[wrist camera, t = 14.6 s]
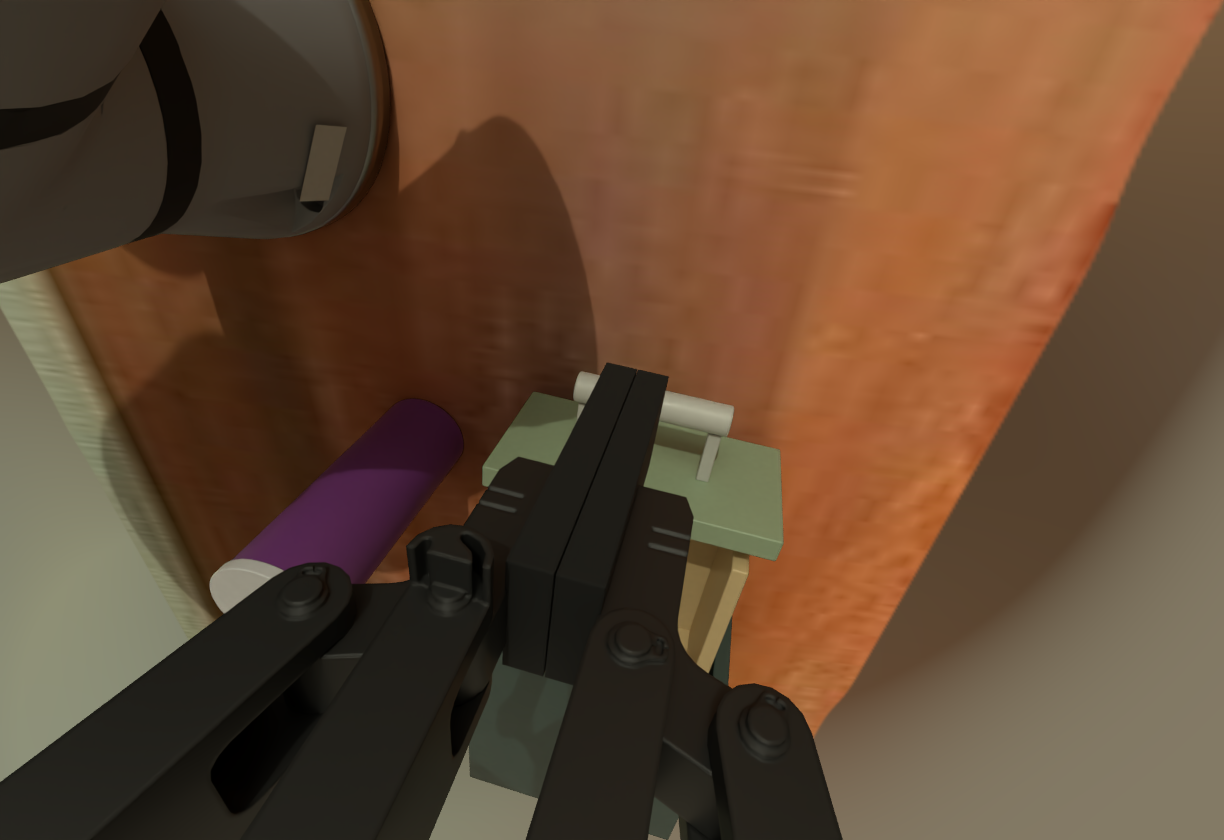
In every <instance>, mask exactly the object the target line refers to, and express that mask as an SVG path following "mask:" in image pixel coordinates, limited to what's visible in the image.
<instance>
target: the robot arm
mask: <svg viewBox="0 0 1224 840" xmlns="http://www.w3.org/2000/svg"><path fill="white" fill-rule="evenodd" d="M389 125H390V87H389V79H388V71H387V64H386V59H385V54H384V49H383V44H382V41H381V37H380V33H379V30H378V26H377V23H376V20H375V17H374V14H373V11H372V8H371V5H370V3H369V0H0V283H4V282H7V281H10V280H13V279H16V278H20V277H23V276H26V275H29V274H32V273H36V272H39V271H42V270H45V269H48V268H52V267H55V266H58V265H61V264H65V263H68V262H71V261H74V260H77V259H81V258H84V257H87V256H90V255H93V254H97V253H100V252H103V251H106V250H110V249H113V248H116V247H119V246H121V245H124V244H128V243H131V242H134V241H138V240H141V239H144V238H148V237H151V236H155V235H158V234H180V235H198V236H216V237H234V238H252V239H274V238H282V237H291V236H296V235H301V234H304V233H307V232H310V231H313V230H315V229H318V228H320V227H323V226H326V225H328V224H330V223H332V222H334V221H336V220H338V219H340V218H342V217H343V216H344V215H346V214H347V213H349V212H350V211H351V210H352V209H353V208H354V207H355V206H357V205H358V204H359V202H360V201H361V200H362V199H363V198H364V196H365V195H366V194H367V192H368V191H369V189H370V187H371V186H372V184H373V183H374V180H375V178H376V176H377V174H378V172H379V169H380V167H381V164H382V161H383V158H384V154H385V149H386V145H387V141H388V133H389ZM636 372H637V374H636ZM668 378H669V377H668V376H664V375H660V374H655V373H651V372H646V371H642V370H638V371H637V369H633V368H629V367H625V366H620V365H616V364H611V363H606V365H605V367H604V369H603V371H602V373H601V375H600V377H599V379H598V381H597V383H596V385H595V387H594V389H593V391H592V393H591V395H590V396H589V398H588V400H587V402H586V404H585V406H584V408H583V410H582V412H581V414H580V416H579V418H578V420H577V422H576V424H575V426H574V428H573V430H572V432H571V434H570V436H569V438H568V440H567V442H566V444H565V445H564V447H563V449H562V451H561V453H560V455H559V457H558V459H557V461H556V463H555V465H550V464H546V463H542V462H538V461H534V460H530V459H527V458H523V457H519V456H518V457H517V458H515V459H514V460H512V461H511V462H509V463H508V464H506V465H505V466H503V467H502V468H500V469H499V471H498V472H497V474H496V475H495V477H494V478H493V480H492V482H491V483H490V485H489V486H488V490H486V491H485V493H484V494H483V496H482V497H481V499H480V501H479V504H477V505H476V507H475V508H474V510H473V511H472V513H471V515H470V516H469V518H468V519H467V521H466V522H465V524H464V526H461V525H452V524H450V525H444V526H438V527H433V528H431V529H429V530H427V531H425V532H423V533H420V534H418V535H417V536H416V537H415V538H414V539H413V540H412V541H411V542H410V543H409V544H408V545H407V546H406V548H407V557H408V566H409V575H410V580H407V581H404V582H397V583H379V584H351V580H350V576H349V575H348V574H347V573H346V572H345V571H344V570H343V569H342V568H341V567H339V566H336V565H333V564H329V563H326V562H308V563H304V564H301V565H297V566H294V567H290V568H288V569H286V570H285V571H283V572H281V573H279V574H278V575H276V576H274V577H272V578H271V579H270V580H268V581H267V582H266V583H264V584H263V585H262V586H260V587H259V588H258V589H256V590H255V591H254V592H252V593H251V594H250V595H248V596H247V597H246V598H244V599H243V600H242V601H240V602H239V603H238V604H236V605H235V606H234V607H232V608H231V609H230V610H228V611H227V612H226V613H224V614H223V615H222V616H221V617H219V618H218V619H217V620H215V621H214V622H213V623H211V624H210V625H209V626H207V627H206V628H205V629H203V630H202V631H201V632H199V633H198V634H197V635H195V636H194V637H193V638H191V639H190V640H189V641H187V642H186V643H185V644H183V645H182V646H181V647H179V648H178V649H177V650H175V651H174V652H173V653H171V654H170V655H169V656H167V657H166V658H165V659H163V660H162V661H161V662H159V663H158V664H157V665H155V666H154V667H153V668H151V669H150V670H149V671H147V672H146V673H145V674H143V675H142V676H141V677H140V678H138V679H137V680H135V681H134V682H133V683H132V684H130V685H129V686H127V687H126V688H125V689H123V690H122V691H121V692H120V693H118V694H117V695H116V696H114V697H113V698H112V699H111V700H109V701H108V702H106V703H105V704H104V705H102V706H101V707H100V708H98V709H97V710H96V711H94V712H93V713H92V714H90V715H89V716H88V717H86V718H85V719H84V720H82V721H81V722H80V723H78V724H77V725H76V726H74V727H73V728H72V729H70V730H69V731H68V732H66V733H65V734H64V735H62V736H61V737H60V738H59V739H57V740H56V741H54V742H53V743H52V744H50V745H49V746H48V747H46V748H45V749H44V750H42V751H41V752H40V753H39V754H37V755H36V756H34V757H33V758H32V759H30V760H29V761H28V762H27V763H25V764H24V765H23V766H21V767H20V768H19V769H17V770H16V771H15V772H13V773H12V774H11V775H9V776H8V777H7V778H5V779H4V780H3V781H1V782H0V840H429V838H430V836H431V833H432V831H433V829H434V826H435V824H436V821H437V819H438V817H439V814H440V812H441V810H442V807H443V805H444V802H445V800H446V798H447V795H448V793H449V791H450V788H451V786H452V784H453V781H454V779H455V776H456V774H457V772H458V769H459V767H460V765H461V762H462V760H463V758H464V755H465V753H466V750H467V748H468V746H469V743H470V741H471V739H472V736H473V734H474V732H475V729H476V727H477V724H478V722H479V720H480V717H481V715H482V713H483V710H484V708H485V705H486V703H487V701H488V698H489V695H490V691H491V686H492V673H493V671H494V669H495V666H496V664H497V662H498V660H499V657H500V655H501V653H502V650H503V657H502V665H506V666H509V667H512V668H516V669H519V670H522V671H526V672H529V673H533V674H536V675H539V676H543V675H544V673H545V677H546V678H549V679H553V680H556V681H560V682H563V683H566V684H570V685H573V688H572V692H571V695H570V698H569V701H568V704H567V708H566V711H565V714H564V717H563V721H562V724H561V727H560V730H559V734H558V737H557V740H556V743H555V746H554V750H553V753H552V756H551V759H550V763H549V766H548V769H547V772H546V776H545V779H544V782H543V785H542V788H541V792H540V795H539V798H538V802H537V805H536V808H535V811H534V814H533V818H532V821H531V824H530V827H529V830H528V834H527V837H526V840H648V833H649V827H650V820H651V814H652V807H653V801H654V797H655V798H656V799H658V800H659V801H660V802H662V803H663V804H664V805H666V806H667V807H668V808H670V809H671V810H672V811H673V812H675V813H676V814H677V815H678V817H679V827H680V839H681V840H842V836H841V833H840V829H839V825H838V822H837V818H836V815H835V812H834V808H833V805H832V801H831V798H830V794H829V791H828V787H827V784H826V781H825V777H824V774H823V770H822V767H821V763H820V760H819V756H818V753H817V750H816V746H815V743H814V739H813V736H812V733H811V730H810V728H809V726H808V724H807V722H806V720H805V718H804V716H803V714H802V713H801V712H800V710H799V709H798V708H797V707H796V706H795V705H794V704H793V703H792V701H791V700H790V699H789V698H787V697H786V696H784V695H782V694H781V693H779V692H778V691H776V690H774V689H773V688H771V687H767V686H763V685H759V684H755V683H753V684H745V685H738V686H736V687H735V688H733V689H732V688H730V687H729V686H727V685H726V684H724V683H723V682H721V681H719V680H718V679H716V678H715V677H713V676H712V675H710V674H709V673H707V672H706V671H705V670H703V669H702V668H701V667H699V666H698V665H697V664H696V663H695V662H694V661H693V660H692V658H691V657H690V656H689V655H688V654H687V652H686V650H685V648H684V646H683V645H682V643H681V640H680V636H679V632H678V616H679V610H680V603H681V597H682V590H683V584H684V578H685V571H686V565H687V557H688V552H689V545H690V538H691V532H692V526H693V519H694V516H693V513H692V511H691V508H690V505H689V503H688V500H687V497H684V496H680V495H676V494H672V493H668V492H664V491H660V490H656V489H652V488H648V487H644V483H645V479H646V476H647V472H648V469H649V465H650V461H651V456H652V452H653V447H654V442H655V438H656V433H657V429H658V424H659V419H660V415H661V410H662V405H663V401H664V396H665V392H666V387H667V382H668Z"/></svg>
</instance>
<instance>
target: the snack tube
mask: <svg viewBox="0 0 1224 840" xmlns="http://www.w3.org/2000/svg"><path fill="white" fill-rule="evenodd" d="M462 451H463V437H462V434H461V431H460V429H459V427H458V425H457V424H456V422H455V421H454V420H453V419H452V417H451V416H450V415H449V414H448V413H446V412H445V411H444V410H443V409H441V408H440V407H438V406H436V405H435V404H432V403H430V402H428V401H424V400H420V399H406V400H402V401H399V402H398V403H396V404H395V405H394V406H392V407H391V408H390V409H389V410H388V411H387V412H386V413H385V414H384V415H383V416H382V417H381V418H380V419H379V420H378V421H377V422H376V423H375V424H374V425H373V426H372V427H370V428H369V429H368V430H367V431H366V432H365V433H364V434H363V435H362V436H361V437H360V438H359V439H358V440H357V441H356V442H355V443H354V444H353V445H352V446H351V447H350V448H349V449H347V450H346V451H345V452H344V453H343V454H342V455H341V456H340V457H339V458H338V459H337V460H336V461H335V462H334V463H333V464H332V465H331V466H330V467H329V468H328V469H327V470H326V471H324V472H323V473H322V474H321V475H320V476H319V477H318V478H317V479H316V480H315V481H314V482H313V483H312V484H311V485H310V486H309V487H308V488H307V489H306V490H305V491H304V492H302V493H301V494H300V495H299V496H298V497H297V498H296V499H295V500H294V501H293V502H292V503H291V504H290V505H289V506H288V507H287V508H286V509H285V510H284V511H283V512H282V513H281V514H279V515H278V516H277V517H276V518H275V519H274V520H273V521H272V522H271V523H270V524H269V525H268V526H267V527H266V528H265V529H264V530H263V531H262V532H261V533H260V534H259V535H258V536H256V537H255V538H254V539H253V540H252V541H251V542H250V543H249V544H248V545H247V546H246V547H245V548H244V549H243V550H242V551H241V552H240V553H239V554H238V555H237V556H236V557H235V558H233V559H232V560H231V561H229V562H227V563H225V564H224V565H223V566H222V567H221V568H219V569H218V570H217V571H216V572H215V573H214V574H213V576H212V577H211V580H210V591H211V594H212V597H213V599H214V601H215V603H216V604H217V606H218V607H219V608H220V610H221V611H222V612H223V613H226V612H227V611H228V610H230V609H231V608H232V607H234V606H235V605H236V604H238V603H239V602H240V601H242V600H243V599H244V598H246V597H247V596H248V595H250V594H251V593H252V592H254V591H255V590H256V589H258V588H259V587H260V586H262V585H263V584H264V583H266V582H267V581H268V580H270V579H271V578H272V577H274V576H276V575H278V574H279V573H281V572H283V571H285V570H286V569H288V568H290V567H294V566H297V565H301V564H304V563H308V562H326V563H329V564H333V565H336V566H339V567H341V568H342V569H343V570H344V571H345V572H346V573H347V574H348V575H349V576H350V580H351V584H365V583H366V582H367V580H368V579H369V578H370V576H371V575H372V574H373V572H374V571H375V570H376V568H377V567H378V566H379V564H380V563H381V562H382V560H383V559H384V558H385V556H386V555H387V554H388V552H389V551H390V550H391V548H392V547H393V546H394V544H395V543H396V542H397V540H398V539H399V538H400V536H401V535H402V534H403V532H404V531H405V530H406V528H407V527H408V526H409V524H410V523H411V522H412V520H413V519H414V518H415V516H416V515H417V514H418V512H419V511H420V510H421V508H422V507H423V506H424V504H425V503H426V502H427V500H428V499H429V498H430V496H431V495H432V494H433V492H434V491H435V490H436V488H437V487H438V486H439V484H440V483H441V482H442V480H443V479H444V478H445V476H446V475H447V474H448V472H449V471H450V470H451V468H452V467H453V466H454V464H455V463H456V462H457V460H458V459H459V458H460V456H461V454H462Z"/></svg>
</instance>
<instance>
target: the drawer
mask: <svg viewBox="0 0 1224 840" xmlns="http://www.w3.org/2000/svg"><path fill="white" fill-rule="evenodd" d="M599 377H600V375H596V374H592V373H588V372H583V371H581V372H580V373H579V375H578V377H577V379H576V383H575V387H574V393H573V398H574V401H572V400H568V399H564V398H559V397H555V396H551V395H547V394H542V393H538V392H533V393H532V394H531V396H530V397H529V399H528V400H527V401H526V403H525V404H524V406H523V407H522V409H521V410H520V412H519V413H518V415H517V416H516V418H515V419H514V421H513V422H512V424H511V425H510V426H509V428H508V429H507V431H506V432H505V434H504V435H503V437H502V438H501V440H500V441H499V443H498V444H497V446H496V447H495V449H494V450H493V451H492V453H491V454H490V456H489V457H488V459H487V460H486V462H485V463H484V465H483V466H482V485H483V486H487V487H488V486H489V485H490V483H491V482H492V480H493V478H494V477H495V475H496V474H497V472H498V471H499V469H500V468H502V467H503V466H505V465H506V464H508V463H509V462H511V461H512V460H514V459H515V458H517V457H518V456H519V457H523V458H527V459H530V460H534V461H538V462H542V463H546V464H550V465H555V463H556V461H557V459H558V457H559V455H560V453H561V451H562V449H563V447H564V445H565V444H566V442H567V440H568V438H569V436H570V434H571V432H572V430H573V428H574V426H575V424H576V422H577V420H578V418H579V416H580V414H581V412H582V410H583V408H584V406H585V404H586V402H587V400H588V398H589V396H590V395H591V393H592V391H593V389H594V387H595V385H596V383H597V381H598V379H599ZM733 414H734V407H733V406H731V405H726V404H722V403H718V402H713V401H709V400H705V399H700V398H696V397H692V396H687V395H683V394H679V393H674V392H670V391H666V392H665V396H664V401H663V405H662V410H661V415H660V419H659V424H658V429H657V433H656V438H655V442H654V447H653V452H652V456H651V461H650V465H649V469H648V472H647V476H646V479H645V483H644V487H648V488H652V489H656V490H660V491H664V492H668V493H672V494H676V495H680V496H684V497H687V500H688V503H689V505H690V508H691V511H692V513H693V516H694V519H693V526H692V532H691V538H690V545H689V552H688V557H687V565H686V571H685V578H684V584H683V590H682V597H681V603H680V610H679V616H678V632H679V636H680V640H681V643H682V645H683V646H684V648H685V650H686V652H687V654H688V655H689V656H690V657H691V658H692V660H693V661H694V662H695V663H696V664H697V665H698V666H699V667H701V668H702V669H703V670H705V671H706V672H707V673H709V671H710V669H711V666H712V664H713V661H714V659H715V656H716V654H717V651H718V649H719V646H720V644H721V641H722V639H723V636H724V634H725V631H726V629H727V626H728V624H729V622H730V619H731V617H732V614H733V612H734V609H735V607H736V604H737V602H738V599H739V597H740V594H741V592H742V589H743V587H744V584H745V582H746V580H747V577H748V575H749V555H753V556H757V557H760V558H764V559H768V560H772V561H776V559H777V557H778V555H779V553H780V550H781V548H782V546H783V515H782V487H781V459H780V450H779V449H775V448H770V447H766V446H762V445H758V444H753V443H749V442H745V441H741V440H737V439H732V438H728V437H727V435H728V433H729V430H730V427H731V423H732V419H733Z"/></svg>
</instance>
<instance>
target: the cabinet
mask: <svg viewBox="0 0 1224 840" xmlns="http://www.w3.org/2000/svg"><path fill="white" fill-rule="evenodd" d="M731 629H732V617H731V619H730V622H729V624H728V626H727V629H726V631H725V634H724V636H723V639H722V641H721V644H720V646H719V649H718V651H717V654H716V656H715V659H714V661H713V664H712V666H711V669H710V671H709V674H710V675H712V676H713V677H715V678H716V679H718V680H719V681H721V682H723V683H724V684H726V685H727V686H728V680H729V663H730V646H731ZM502 657H503V650H502V653H501V655H500V657H499V660H498V662H497V664H496V666H495V669H494V671H493V673H492V686H491V691H490V695H489V698H488V701H487V703H486V705H485V708H484V710H483V713H482V715H481V717H480V720H479V722H478V724H477V727H476V729H475V732H474V734H473V736H472V739H471V741H470V743H469V760H470V776H471V777H473V778H476V779H479V780H482V781H485V782H489V783H492V784H495V785H498V786H501V787H504V788H507V789H510V790H513V791H517V792H520V793H523V794H526V795H529V796H532V797H535V798H539V795H540V792H541V788H542V785H543V782H544V779H545V776H546V772H547V769H548V766H549V763H550V759H551V756H552V753H553V750H554V746H555V743H556V740H557V737H558V734H559V730H560V727H561V724H562V721H563V717H564V714H565V711H566V708H567V704H568V701H569V698H570V695H571V692H572V688H573V685H570V684H566V683H563V682H560V681H556V680H553V679H549V678H546V677H545V673H544V675H543V676H539V675H536V674H533V673H529V672H526V671H522V670H519V669H516V668H512V667H509V666H506V665H502ZM678 818H679V817H678V815H677V814H676V813H675V812H673V811H672V810H671V809H670V808H668V807H667V806H666V805H664V804H663V803H662V802H660V801H659V800H658V799H656V798H655V797H654V801H653V807H652V814H651V820H650V827H649V833H648V834H650V835H653V836H657V837H660V838H663V839H666V840H668V839H669V837H670V834H671V832H672V830H673V828H674V826H675V824H676V822H677V820H678Z"/></svg>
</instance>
